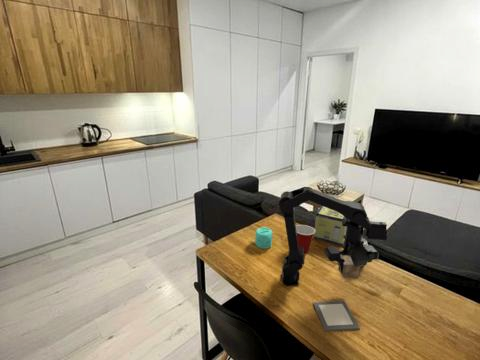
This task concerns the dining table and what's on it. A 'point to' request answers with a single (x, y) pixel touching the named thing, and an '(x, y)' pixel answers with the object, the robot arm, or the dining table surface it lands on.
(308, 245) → the plastic cup
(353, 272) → the cube
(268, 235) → the turquoise cylinder
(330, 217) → the protein box
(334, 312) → the coaster
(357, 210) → the robot arm
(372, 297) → the dining table surface
